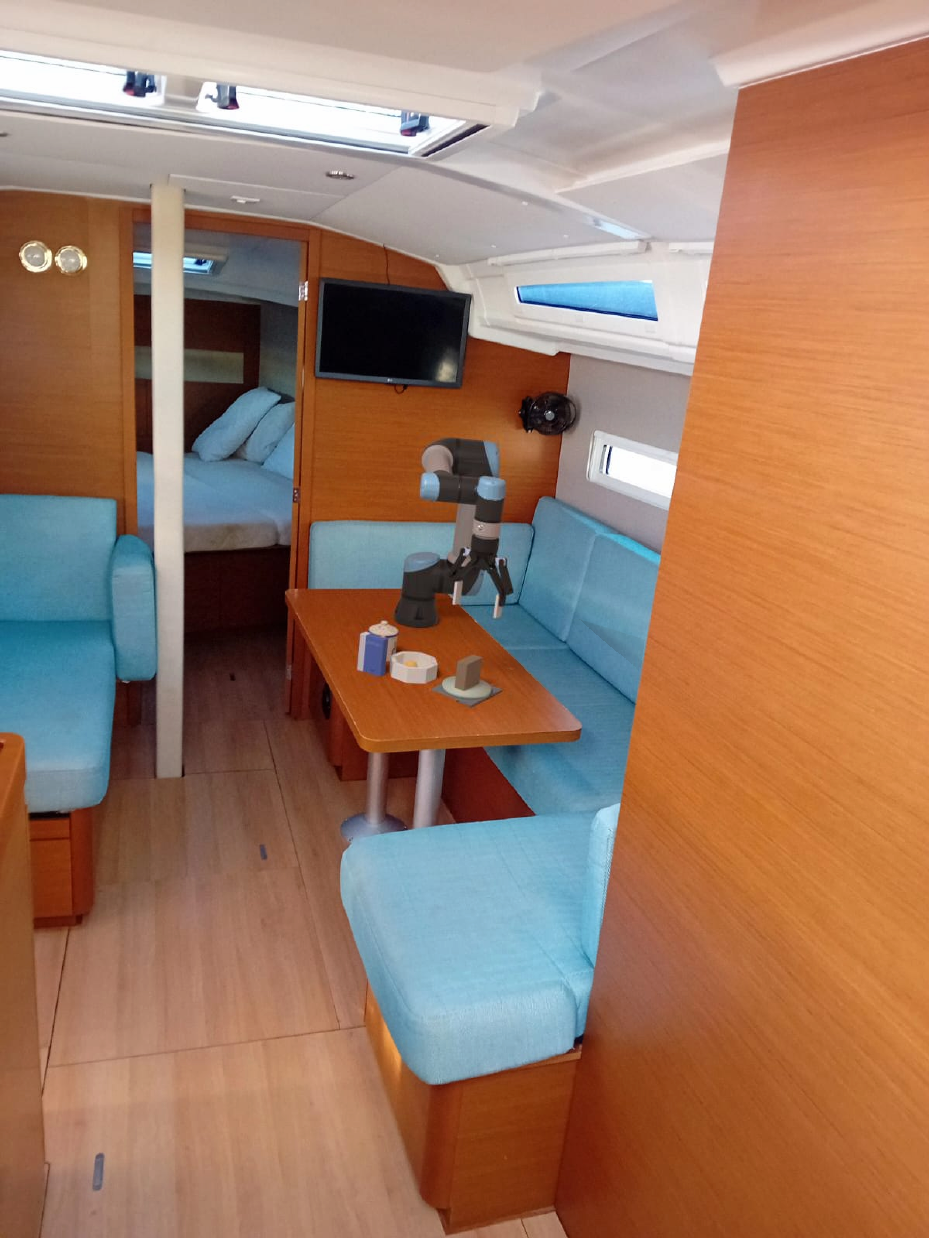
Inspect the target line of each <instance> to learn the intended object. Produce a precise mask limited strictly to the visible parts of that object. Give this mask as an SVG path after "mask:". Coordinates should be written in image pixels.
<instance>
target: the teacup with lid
mask: <svg viewBox="0 0 929 1238" xmlns="http://www.w3.org/2000/svg"><path fill="white" fill-rule="evenodd" d="M367 632H369V633H372V634H376V635H379V636H381V635H383V636H385V637H386V638H388V648H387V658H386V662H390V658H391V655H394V654H397V644H398V635H399V634H400V633H399V629H398V628H397V627H396V626H393V625H391V624H389V623H388V621H387V620H381V621H380V623H377V624H373V625H370V626H369V628H368V630H367Z"/></svg>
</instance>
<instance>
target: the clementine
mask: <svg viewBox="0 0 929 1238" xmlns="http://www.w3.org/2000/svg"><path fill="white" fill-rule="evenodd" d="M405 666H408V667H418V665H417V664H416V662H414V661H408V662H406V663H405Z"/></svg>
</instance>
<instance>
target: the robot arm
mask: <svg viewBox="0 0 929 1238" xmlns="http://www.w3.org/2000/svg"><path fill="white" fill-rule="evenodd" d="M500 458H501V457H500V448H499V445H498V444H497V443H496V442H493V441H488V440H484V439H483V440H482V439H481V440H480V439H470V438H462V437H461V438H460V437H453V436H451V437H442V438H439V439H437V440H434V441H432V442H431V443H429V444H428V445H427V446H426V447H425V448H424V450H423V451H422V453H421V465H422V468H423V470H425V472H423V473H422V474H421V477H420V487H419V497H420V499H421V500H423V501H424V500H425V501H428V502H429V501H430V502H438V503H439V502H440V503H450V504H458V505H457V510H456V511H457V512H456V520H455V527H454V535H453V543H452V548H451V549H452V550H451V551H449V552H448V553H447V554H446V558H441V556H440V554H439V553H437V552H432V551H419V552H414V553H411V554H410V553H409V554H408V555H407V556H406V557H405V560H404V563H403V568H402V571H403V575H402V583H401V592H400V598H399V600H398V602H397V605H396V607H395V610H394V612H393V620H394V621H395V622H396V623H398V624H400V625H402V626H406V627H412V628H421V629H422V628H431V627H435V626H436V625H438V624H439V623H438V622H439V614H438V608H437V603H436V594H443V595H444V594H445V595H451V596H453V598H452V605H456V606H457V605H459V604H461V600H462V597H466V596H467V597H475V596H477V595H478V594H479V593H480V591H481V588H482V585H483V582H484V574H485V571H486V572H487V574H488V575H489V577H490V579H491V580H492V582H493V584H494V586H495V588H496V590H497V593H498V594H495V603H494V609H493V610H494V611H493V617H492V618H493V619H498V618H501V617H502V612H503V607H505V605H506V603H507V602H506V600H507V596H509V595H512V594H514V591H515V590H514V587H513V583H512V580H511V577H510V573H509V569H508V558H507V557H498V552H499V547H500V536H501V532H502V523H503V513H504V509H505V508H504V507H505V500H506V496H507V482H506V481H505V479H502V478H500V475H501V474H500V471H501V468H500V467H501V465H500V463H501V461H500V460H501V459H500ZM496 564H497V565H496ZM497 566H498V567H497Z"/></svg>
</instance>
